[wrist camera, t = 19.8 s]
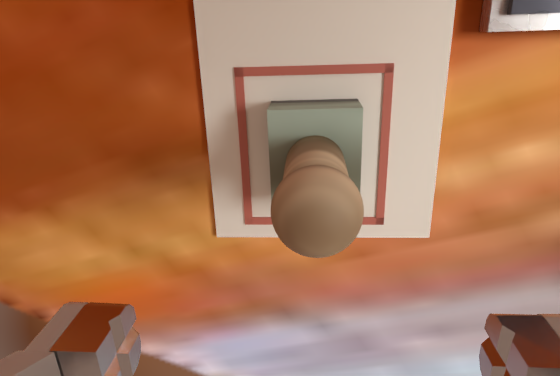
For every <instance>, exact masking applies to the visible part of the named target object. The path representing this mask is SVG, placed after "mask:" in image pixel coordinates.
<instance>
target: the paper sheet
mask: <svg viewBox="0 0 560 376" xmlns="http://www.w3.org/2000/svg"><path fill="white" fill-rule="evenodd" d="M193 3H194V13H195V23H196V33H197V43H198V53H199V63H200V73H201V83H202V93H203V103H204V113H205V123H206V133H207V143H208V153H209V163H210V173H211V183H212V193H213V203H214V213H215V223H216V233H217V237H278V235H277V234H276V232H275V230H274V227H273V224H272V220H271V183H270V163H269V143H268V124H267V109H268V107H269V105H270V103H271V101H286V100H323V99H358V100H359V102H360V103H361V105H362V107H363V129H362V158H361V186H360V194H361V197H362V200H363V206H364V217H363V222H362V226H361V229H360V231H359V233H358V235H357V236H356V238H429V236H430V227H431V218H432V209H433V201H434V192H435V183H436V174H437V165H438V156H439V147H440V139H441V130H442V121H443V112H444V103H445V94H446V86H447V77H448V68H449V59H450V50H451V41H452V32H453V24H454V15H455V6H456V0H193Z"/></svg>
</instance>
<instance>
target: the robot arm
mask: <svg viewBox="0 0 560 376" xmlns="http://www.w3.org/2000/svg"><path fill="white" fill-rule="evenodd" d="M135 320H136V315H135V310H134V307H133V306H131V305H130V304H113V303H93V302H90V303H87V302H68V303H66V304H64V305H63V306H62V307H61V308H60V309H59V311H58V312H57V313H56V314H55V315H54V316H53V318H52V319H51V320H50V321H49V322H48V323H47V324H46V326H45V327H44V328H43V329H42V331H40V333H39V334H38V335H37V336H36V337H35V339H34V340H33V341H32V342H31V343H30V344H29V345H28V347H27V348H26V349H25V350H24V351H16V352H14V353H12V354H10V355H8V356H6V357H4V358H3V359H1V360H0V376H133V374H134V372H135V370H136V368H137V365H138V362H139V357H140V353H141V341H140V335H139V333H138V332H137V331H136V330H135V329H134V328H133V327H132V325H133V324H134V322H135ZM485 330H486V332H487V334H488V336H489V338H488V339H486V340H485V341H484V342H483V343H482V344H481V348H480V354H479V360H480V370H481V373H482V376H560V314H537V315H524V314H490V315H489V316H488V318H487V319H486V324H485Z"/></svg>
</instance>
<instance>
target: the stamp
mask: <svg viewBox="0 0 560 376" xmlns="http://www.w3.org/2000/svg"><path fill="white" fill-rule="evenodd" d="M267 124H268V143H269V163H270V183H271V220H272V224H273V227H274V230H275V232H276V234H277V235H278V237H279V238H280V240H281V241H282V242H283V243H284V244H285V245H286V246H287V247H288V248H290V249H291V250H292V251H294V252H296V253H298V254H300V255H303V256H307V257H313V258H322V257H328V256H332V255H335V254H337V253H339V252H341V251H342V250H344V249H345V248H346V247H348V246H349V245H350V244H351V243H352V242H353V241H354V239H355V238H356V236H357V235H358V233H359V231H360V229H361V226H362V222H363V217H364V206H363V200H362V197H361V194H360V186H361V158H362V129H363V107H362V105H361V103H360V102H359V100H358V99H323V100H286V101H271V103H270V105H269V107H268V109H267Z"/></svg>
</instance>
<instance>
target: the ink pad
mask: <svg viewBox="0 0 560 376" xmlns="http://www.w3.org/2000/svg"><path fill="white" fill-rule="evenodd" d="M535 30H560V0H483V7H482V14H481V21H480V29H479V32H504V31H535Z"/></svg>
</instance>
